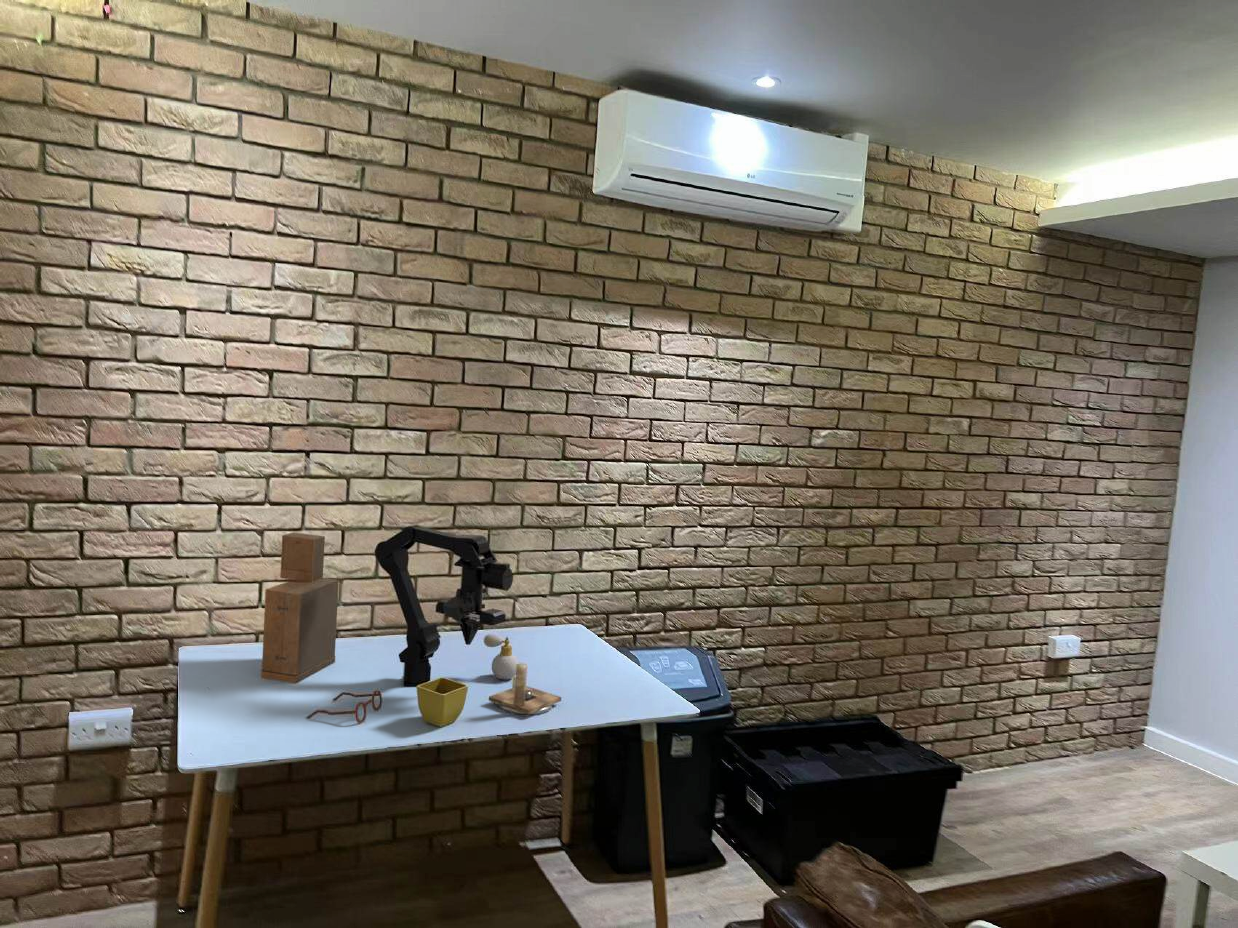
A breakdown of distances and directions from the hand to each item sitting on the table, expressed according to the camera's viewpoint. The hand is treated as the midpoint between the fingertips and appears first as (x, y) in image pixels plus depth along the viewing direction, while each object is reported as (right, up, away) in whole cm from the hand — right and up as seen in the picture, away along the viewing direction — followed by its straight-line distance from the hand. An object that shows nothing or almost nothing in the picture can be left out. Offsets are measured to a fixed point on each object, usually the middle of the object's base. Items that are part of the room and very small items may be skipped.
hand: (468, 644), depth 229 cm
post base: (+15, -14, -2) cm, 21 cm away
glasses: (-26, -13, -17) cm, 34 cm away
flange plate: (+15, -13, -4) cm, 21 cm away
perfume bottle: (+6, -13, +15) cm, 20 cm away
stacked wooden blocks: (-47, -9, +10) cm, 49 cm away
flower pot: (-3, -15, -19) cm, 24 cm away
